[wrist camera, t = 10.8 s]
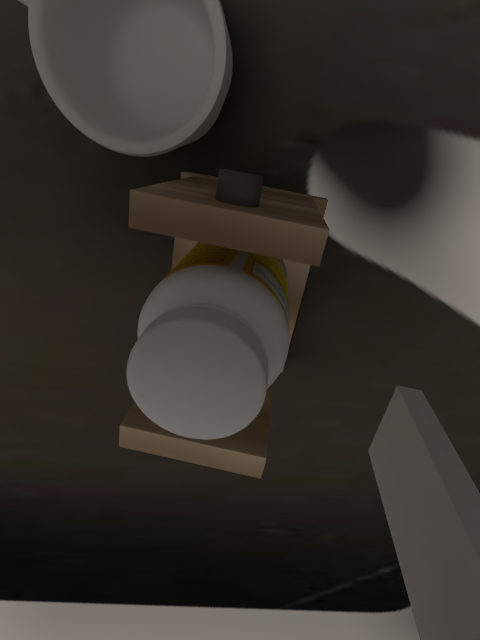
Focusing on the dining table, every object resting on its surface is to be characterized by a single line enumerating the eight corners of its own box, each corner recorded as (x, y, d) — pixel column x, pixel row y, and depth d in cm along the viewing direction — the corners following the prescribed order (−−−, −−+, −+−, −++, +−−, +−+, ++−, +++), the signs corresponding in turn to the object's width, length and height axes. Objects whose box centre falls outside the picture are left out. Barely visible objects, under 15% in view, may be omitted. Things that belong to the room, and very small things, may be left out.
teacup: (269, 26, 18) (262, -23, 13) (208, 180, 21) (183, 188, 16) (75, -80, 17) (-12, -176, 12) (42, 96, 20) (-37, 77, 15)
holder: (187, 152, 20) (106, 150, 11) (330, 180, 20) (365, 201, 11) (167, 351, 26) (101, 458, 17) (279, 376, 25) (273, 498, 16)
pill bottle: (175, 307, 23) (89, 424, 13) (200, 211, 20) (117, 266, 10) (268, 339, 23) (252, 479, 13) (305, 248, 21) (321, 337, 11)
